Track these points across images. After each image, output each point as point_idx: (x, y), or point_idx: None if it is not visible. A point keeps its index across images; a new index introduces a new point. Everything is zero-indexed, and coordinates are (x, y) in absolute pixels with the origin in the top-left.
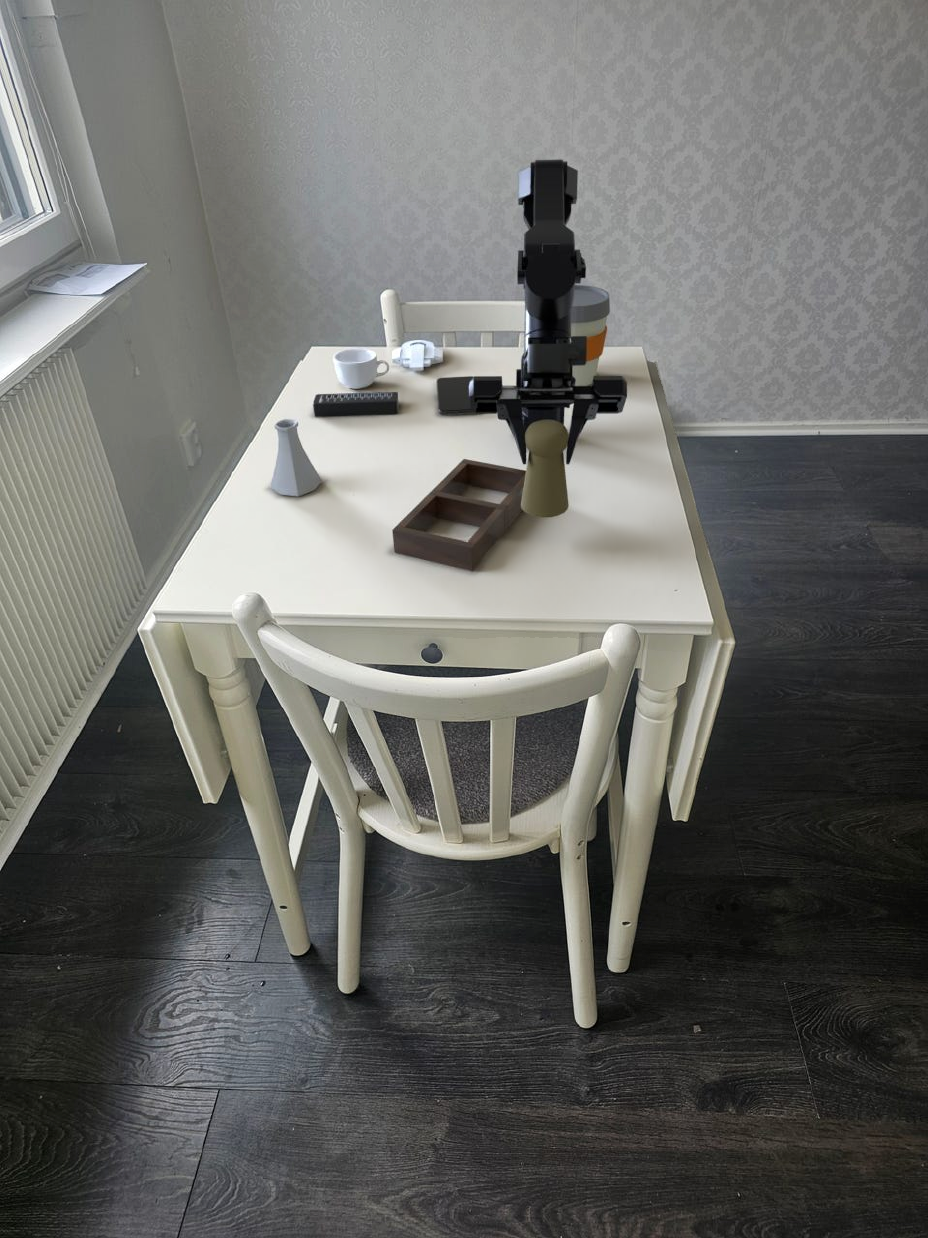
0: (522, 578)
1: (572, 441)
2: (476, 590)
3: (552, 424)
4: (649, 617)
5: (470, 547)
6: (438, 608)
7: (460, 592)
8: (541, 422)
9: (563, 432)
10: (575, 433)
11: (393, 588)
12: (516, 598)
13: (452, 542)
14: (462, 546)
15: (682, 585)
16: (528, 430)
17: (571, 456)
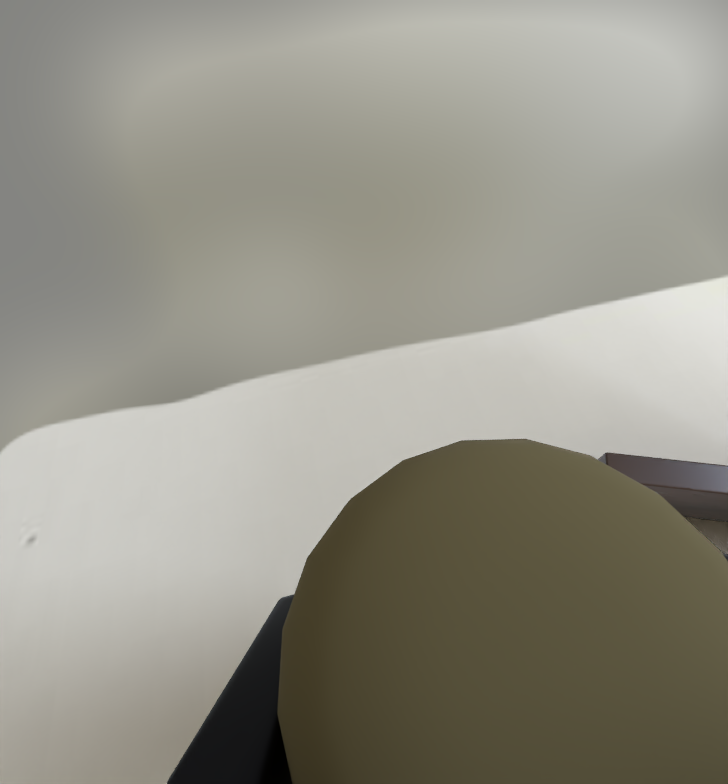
0: None
1: (243, 700)
2: (526, 406)
3: (477, 685)
4: (112, 415)
5: (611, 454)
6: (575, 327)
7: (559, 389)
8: (658, 716)
9: (309, 598)
10: (195, 776)
11: (718, 363)
12: (422, 402)
13: (681, 466)
14: (638, 456)
15: (7, 569)
16: (721, 555)
17: (266, 621)
